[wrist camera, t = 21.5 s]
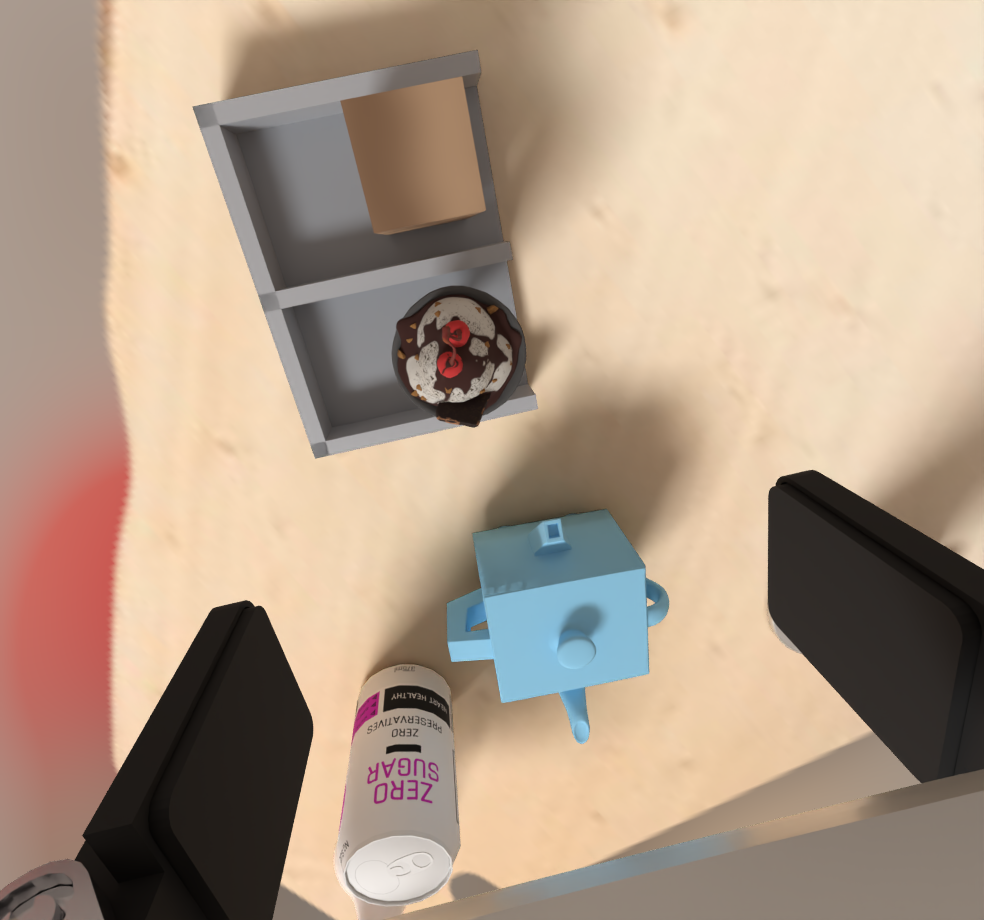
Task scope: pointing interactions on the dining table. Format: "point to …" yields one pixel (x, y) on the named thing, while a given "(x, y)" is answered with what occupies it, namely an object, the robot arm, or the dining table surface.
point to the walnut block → (415, 156)
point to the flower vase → (366, 912)
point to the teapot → (558, 610)
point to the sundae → (458, 354)
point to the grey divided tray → (346, 250)
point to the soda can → (400, 789)
